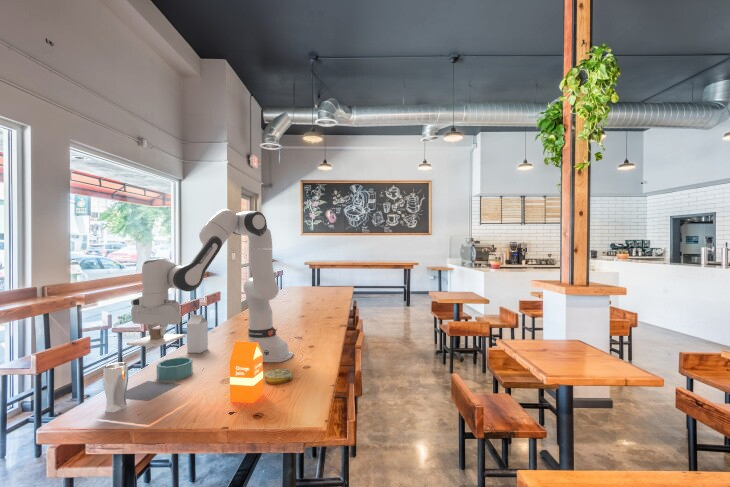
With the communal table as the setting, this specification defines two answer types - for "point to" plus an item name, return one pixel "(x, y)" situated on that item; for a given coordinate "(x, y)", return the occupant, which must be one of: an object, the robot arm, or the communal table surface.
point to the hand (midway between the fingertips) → (157, 335)
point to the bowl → (174, 369)
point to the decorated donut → (278, 376)
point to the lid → (156, 338)
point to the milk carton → (197, 334)
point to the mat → (149, 390)
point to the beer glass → (115, 386)
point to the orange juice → (246, 372)
